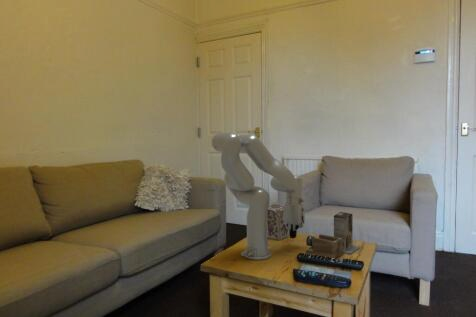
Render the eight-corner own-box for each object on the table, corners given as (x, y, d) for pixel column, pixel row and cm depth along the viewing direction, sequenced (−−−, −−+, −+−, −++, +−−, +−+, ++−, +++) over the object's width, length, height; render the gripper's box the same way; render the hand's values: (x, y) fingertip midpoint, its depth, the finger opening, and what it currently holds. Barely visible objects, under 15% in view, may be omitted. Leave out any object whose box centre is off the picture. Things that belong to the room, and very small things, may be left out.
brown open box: (333, 259, 153) (334, 243, 153) (305, 253, 162) (305, 237, 162) (343, 253, 161) (343, 237, 160) (315, 247, 170) (315, 232, 169)
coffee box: (339, 243, 174) (340, 211, 173) (352, 246, 170) (353, 213, 169) (333, 248, 166) (333, 215, 165) (346, 251, 163) (346, 217, 161)
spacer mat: (350, 254, 160) (350, 253, 160) (326, 249, 167) (326, 248, 167) (360, 247, 169) (360, 246, 169) (336, 243, 177) (336, 241, 177)
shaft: (333, 252, 156) (333, 242, 156) (306, 246, 165) (306, 236, 165) (337, 250, 160) (337, 239, 159) (311, 244, 169) (311, 234, 168)
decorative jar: (279, 241, 181) (279, 206, 180) (260, 237, 188) (260, 204, 187) (290, 235, 191) (290, 203, 190) (272, 232, 198) (272, 200, 197)
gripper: (311, 201, 168) (310, 239, 169) (285, 198, 178) (284, 233, 179) (303, 203, 162) (302, 242, 163) (276, 199, 172) (275, 236, 173)
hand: (292, 237), depth 171 cm, fingers closed
